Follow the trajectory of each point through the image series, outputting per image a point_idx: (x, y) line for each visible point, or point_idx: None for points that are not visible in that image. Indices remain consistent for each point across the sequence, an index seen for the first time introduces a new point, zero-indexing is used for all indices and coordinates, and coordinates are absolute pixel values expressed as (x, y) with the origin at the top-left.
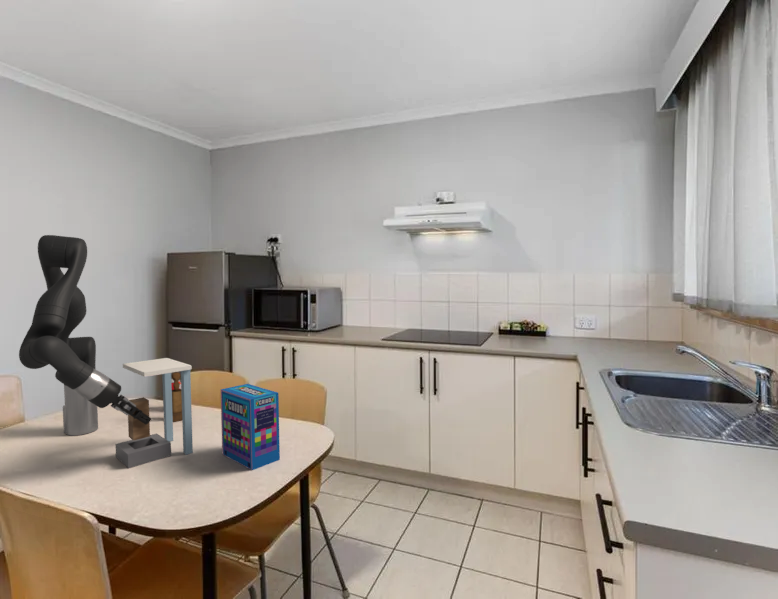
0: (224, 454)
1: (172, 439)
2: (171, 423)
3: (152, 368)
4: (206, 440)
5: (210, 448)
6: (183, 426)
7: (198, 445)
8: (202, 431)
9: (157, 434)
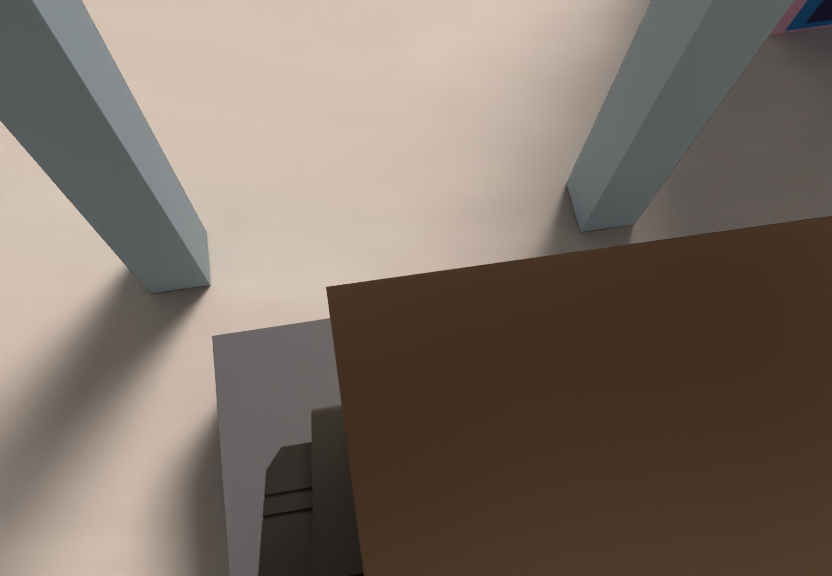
0: (802, 25)
1: (203, 233)
2: (156, 150)
3: None
4: (405, 40)
5: (601, 62)
6: (693, 76)
7: (479, 108)
8: (163, 10)
9: (256, 335)
